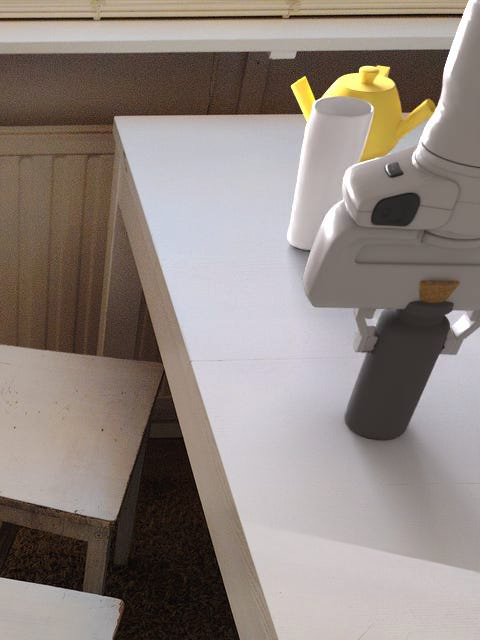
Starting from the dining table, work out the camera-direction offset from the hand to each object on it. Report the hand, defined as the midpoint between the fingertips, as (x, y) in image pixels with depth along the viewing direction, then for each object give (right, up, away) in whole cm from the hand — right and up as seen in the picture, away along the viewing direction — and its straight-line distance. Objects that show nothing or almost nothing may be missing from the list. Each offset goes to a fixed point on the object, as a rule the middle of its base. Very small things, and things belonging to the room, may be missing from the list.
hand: (402, 350), depth 73 cm
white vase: (+2, +24, +29) cm, 38 cm away
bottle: (0, -5, +6) cm, 8 cm away
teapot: (+14, +43, +45) cm, 64 cm away
